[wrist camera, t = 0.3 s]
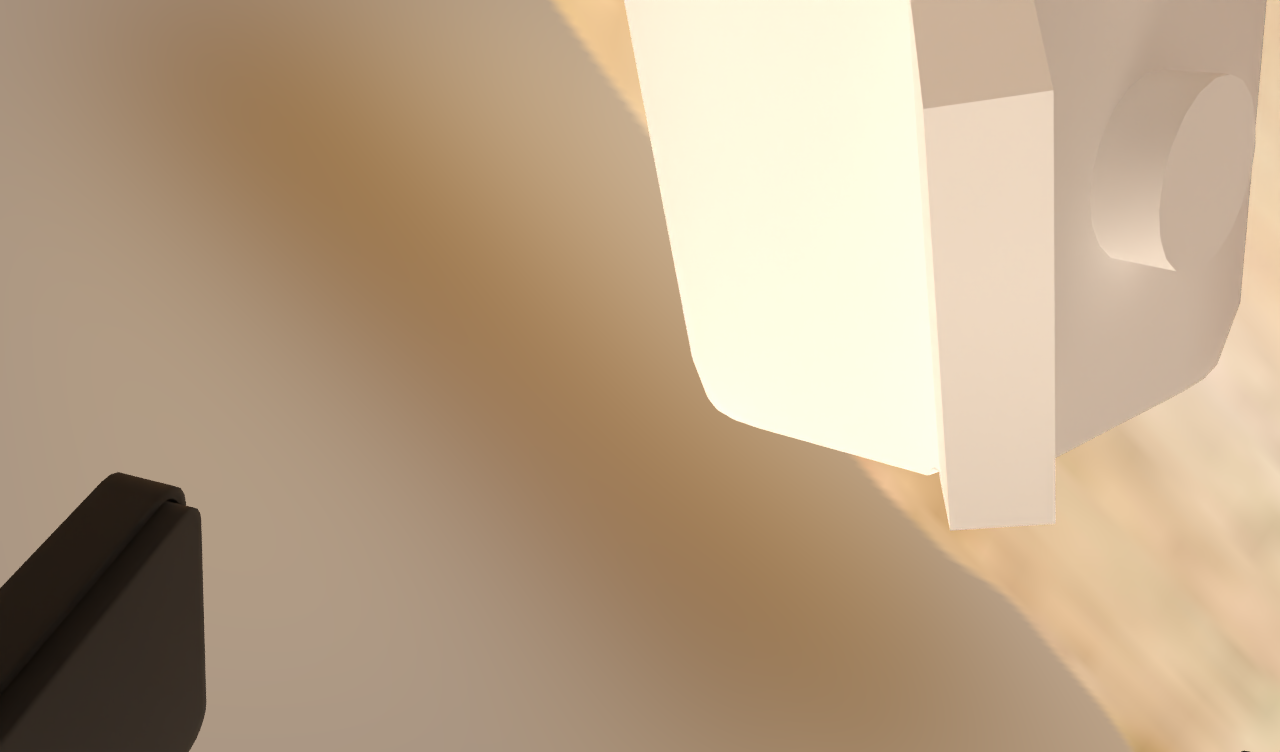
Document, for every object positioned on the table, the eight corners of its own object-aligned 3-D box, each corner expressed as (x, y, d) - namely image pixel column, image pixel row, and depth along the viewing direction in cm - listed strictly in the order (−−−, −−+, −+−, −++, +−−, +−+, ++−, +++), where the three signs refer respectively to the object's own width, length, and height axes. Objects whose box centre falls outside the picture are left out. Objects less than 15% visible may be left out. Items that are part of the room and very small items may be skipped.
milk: (675, -209, 33) (408, -107, 11) (1065, -293, 31) (1701, -374, 9) (732, 159, 39) (628, 706, 17) (1065, 113, 37) (1451, 679, 15)
